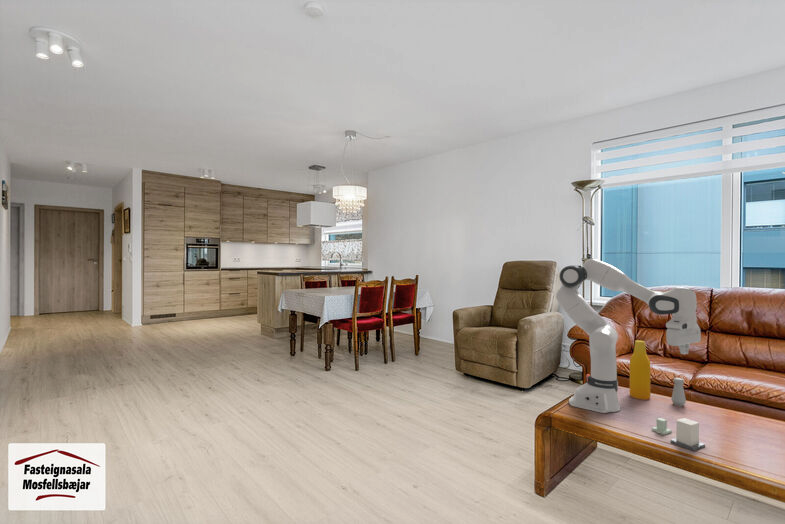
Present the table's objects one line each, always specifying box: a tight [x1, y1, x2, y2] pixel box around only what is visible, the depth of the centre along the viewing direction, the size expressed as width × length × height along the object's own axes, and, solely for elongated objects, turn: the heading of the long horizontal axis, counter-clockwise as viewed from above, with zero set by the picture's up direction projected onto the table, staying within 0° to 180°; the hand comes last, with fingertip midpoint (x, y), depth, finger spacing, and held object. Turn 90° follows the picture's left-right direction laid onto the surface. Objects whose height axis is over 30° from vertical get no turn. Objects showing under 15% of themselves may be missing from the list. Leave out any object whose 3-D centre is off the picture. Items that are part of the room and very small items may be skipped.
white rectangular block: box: [675, 417, 700, 446], centre depth 155 cm, size 5×5×8 cm
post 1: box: [651, 417, 672, 436], centre depth 167 cm, size 5×5×5 cm
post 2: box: [670, 437, 706, 452], centre depth 155 cm, size 8×8×7 cm
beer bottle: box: [629, 339, 651, 401], centre depth 207 cm, size 9×9×29 cm
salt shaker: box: [671, 377, 687, 407], centre depth 196 cm, size 6×6×13 cm
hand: (684, 353), depth 180 cm, fingers closed
